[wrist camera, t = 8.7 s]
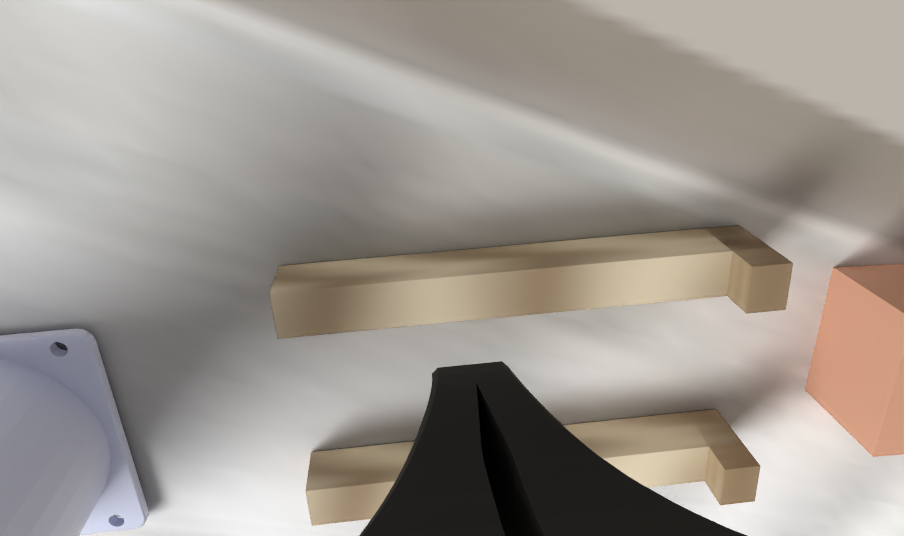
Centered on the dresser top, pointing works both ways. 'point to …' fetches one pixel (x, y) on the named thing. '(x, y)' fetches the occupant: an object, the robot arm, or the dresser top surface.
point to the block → (863, 356)
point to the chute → (535, 292)
